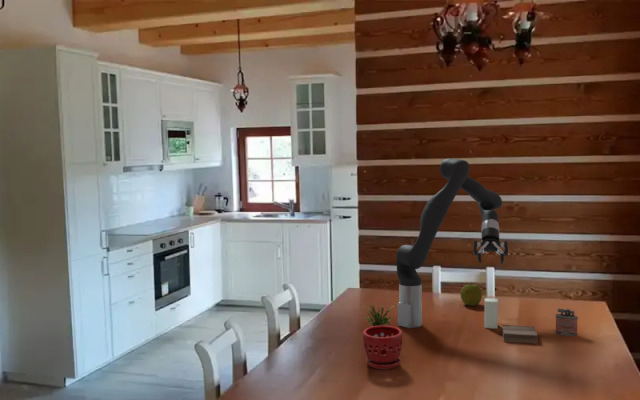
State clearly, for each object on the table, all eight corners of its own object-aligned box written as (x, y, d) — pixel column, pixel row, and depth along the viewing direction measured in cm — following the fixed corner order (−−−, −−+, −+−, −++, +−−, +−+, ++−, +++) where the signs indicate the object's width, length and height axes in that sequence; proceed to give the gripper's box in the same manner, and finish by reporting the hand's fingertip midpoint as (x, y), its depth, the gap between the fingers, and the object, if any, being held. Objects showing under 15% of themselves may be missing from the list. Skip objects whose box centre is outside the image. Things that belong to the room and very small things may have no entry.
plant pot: (362, 358, 214) (362, 325, 213) (400, 358, 213) (400, 324, 212) (364, 372, 201) (363, 336, 200) (404, 372, 200) (404, 336, 199)
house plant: (351, 348, 225) (351, 304, 223) (362, 337, 238) (361, 296, 236) (389, 352, 220) (389, 307, 219) (398, 340, 233) (398, 298, 232)
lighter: (577, 334, 238) (578, 309, 237) (577, 336, 235) (577, 311, 234) (555, 331, 241) (555, 307, 240) (554, 334, 238) (555, 309, 237)
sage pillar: (497, 328, 247) (497, 301, 246) (484, 327, 248) (484, 301, 247) (497, 325, 252) (497, 298, 251) (484, 324, 253) (484, 298, 252)
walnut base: (537, 343, 227) (537, 335, 227) (503, 341, 230) (503, 333, 230) (534, 334, 239) (534, 326, 238) (502, 332, 242) (502, 324, 241)
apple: (465, 301, 291) (465, 278, 290) (485, 304, 286) (485, 281, 285) (457, 305, 283) (457, 282, 282) (477, 308, 278) (477, 285, 277)
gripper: (473, 226, 267) (473, 257, 257) (507, 226, 264) (508, 257, 254) (473, 236, 273) (473, 267, 263) (507, 237, 269) (508, 267, 259)
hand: (490, 262), depth 258 cm, fingers open, 8 cm apart
